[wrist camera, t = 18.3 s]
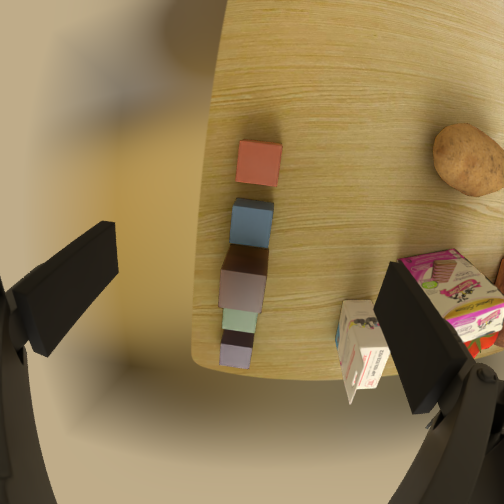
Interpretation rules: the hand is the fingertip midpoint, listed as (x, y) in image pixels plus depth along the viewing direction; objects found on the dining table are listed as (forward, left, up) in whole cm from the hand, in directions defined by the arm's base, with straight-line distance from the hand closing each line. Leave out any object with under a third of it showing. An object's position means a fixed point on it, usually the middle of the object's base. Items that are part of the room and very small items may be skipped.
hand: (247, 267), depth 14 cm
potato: (+16, +24, -28) cm, 40 cm away
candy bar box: (+27, +10, -28) cm, 40 cm away
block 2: (+3, -6, -27) cm, 28 cm away
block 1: (-2, 0, -27) cm, 28 cm away
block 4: (+17, -23, -27) cm, 40 cm away
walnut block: (+8, -11, -27) cm, 31 cm away
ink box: (+27, -5, -28) cm, 39 cm away
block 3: (+12, -16, -27) cm, 34 cm away
